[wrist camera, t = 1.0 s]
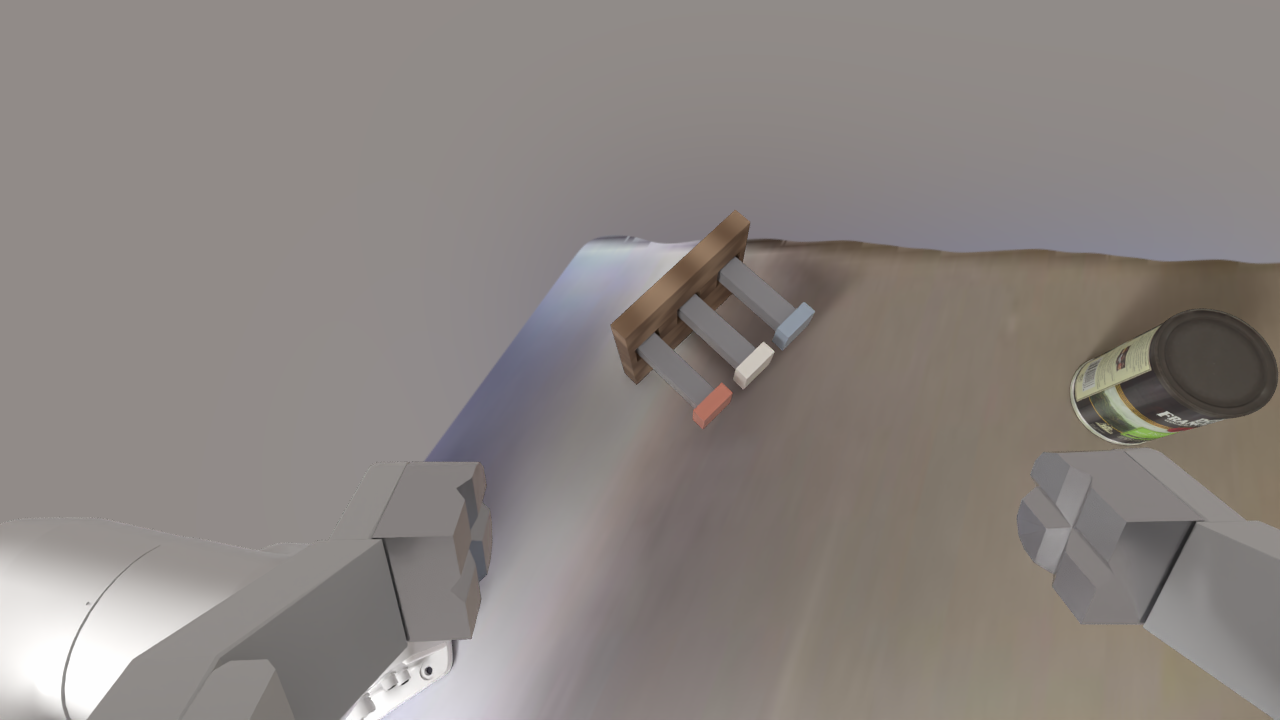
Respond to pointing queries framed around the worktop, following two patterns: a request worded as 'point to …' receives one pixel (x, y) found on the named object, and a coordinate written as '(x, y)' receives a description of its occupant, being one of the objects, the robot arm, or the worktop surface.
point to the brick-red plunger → (685, 380)
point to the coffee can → (1175, 378)
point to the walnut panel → (679, 294)
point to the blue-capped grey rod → (765, 302)
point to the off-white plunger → (726, 340)
